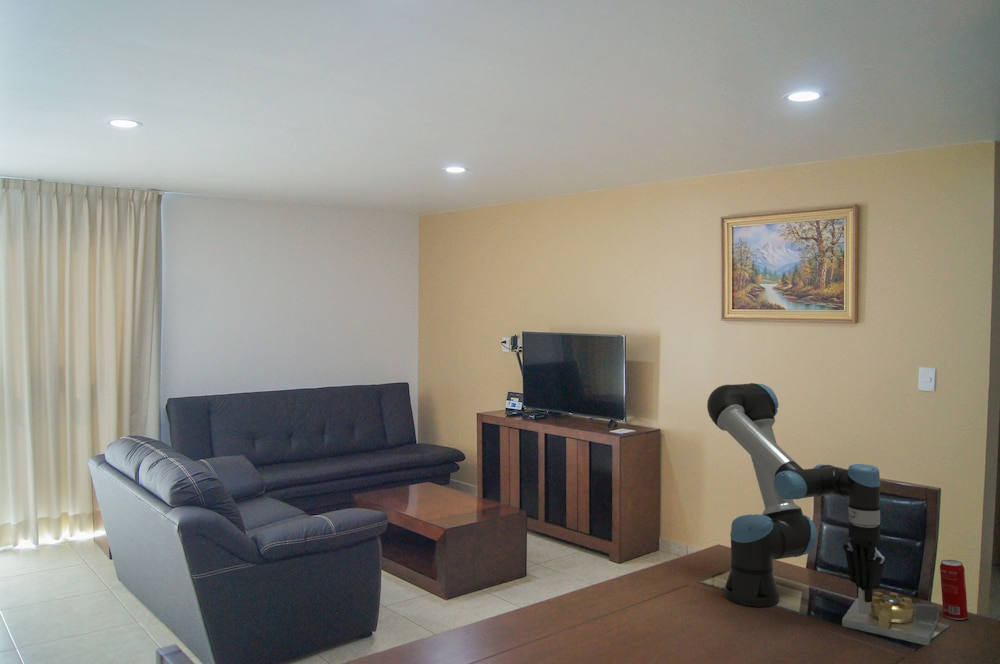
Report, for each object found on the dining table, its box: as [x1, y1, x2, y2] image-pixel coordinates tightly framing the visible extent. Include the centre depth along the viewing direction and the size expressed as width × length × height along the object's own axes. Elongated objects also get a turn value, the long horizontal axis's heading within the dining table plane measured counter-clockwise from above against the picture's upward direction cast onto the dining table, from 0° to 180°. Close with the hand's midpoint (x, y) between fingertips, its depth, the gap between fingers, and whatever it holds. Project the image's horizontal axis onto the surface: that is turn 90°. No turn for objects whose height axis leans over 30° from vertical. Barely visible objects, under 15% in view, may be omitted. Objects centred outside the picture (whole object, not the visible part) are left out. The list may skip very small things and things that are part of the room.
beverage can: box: [939, 559, 969, 621], centre depth 201 cm, size 6×6×15 cm
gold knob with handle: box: [869, 591, 915, 629], centre depth 194 cm, size 16×11×4 cm, turn 143°
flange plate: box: [841, 597, 940, 647], centre depth 196 cm, size 20×20×6 cm
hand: (864, 612), depth 194 cm, fingers closed
